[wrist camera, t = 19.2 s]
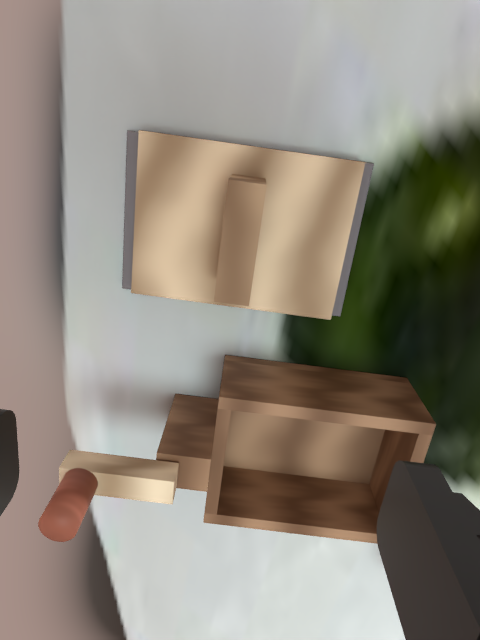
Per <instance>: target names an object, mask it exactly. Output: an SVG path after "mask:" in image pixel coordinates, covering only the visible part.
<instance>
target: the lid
mask: <svg viewBox="0 0 480 640" xmlns="http://www.w3.org/2000/svg"><path fill="white" fill-rule="evenodd" d="M364 167H365V162H361V161H354V160H347V159H339V158H332V157H325V156H318V155H311V154H304V153H297V152H290V151H283V150H276V149H269V148H262V147H255V146H248V145H241V144H234V143H227V142H220V141H212V140H205V139H198V138H191V137H184V136H177V135H170V134H163V133H156V132H149V131H141V130H139V135H138V156H137V178H136V199H135V221H134V242H133V264H132V285H131V293H135V294H143V295H150V296H158V297H165V298H172V299H180V300H187V301H195V302H202V303H209V304H217V305H224V306H232V307H239V308H246V309H254V310H261V311H269V312H276V313H284V314H291V315H298V316H306V317H313V318H321V319H328V320H331V316H332V312H333V307H334V303H335V298H336V294H337V289H338V285H339V280H340V276H341V271H342V266H343V262H344V257H345V253H346V248H347V244H348V239H349V235H350V230H351V226H352V221H353V217H354V212H355V208H356V203H357V199H358V194H359V190H360V185H361V180H362V176H363V171H364Z"/></svg>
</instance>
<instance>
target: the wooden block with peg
mask: <svg viewBox="0 0 480 640" xmlns="http://www.w3.org/2000/svg"><path fill="white" fill-rule="evenodd" d="M178 467H179V463H174V462H166V461H158V460H150V459H142V458H134V457H126V456H117V455H109V454H101V453H93V452H85V451H77V450H69V452H68V454H67V455H66V457H65V459H64V460H63V462H62V464H61V466H60V467H59V486H58V488H57V490H56V491H55V493H54V495H53V497H52V498H51V500H50V502H49V504H48V505H47V507H46V509H45V511H44V512H43V514H42V516H41V518H40V520H39V523H38V526H39V529H40V531H41V533H42V534H43V535H44V536H46V537H47V538H49V539H51V540H53V541H59V542H64V541H68V540H70V539H72V538H74V537H75V535H76V533H77V531H78V529H79V526H80V524H81V522H82V520H83V518H84V516H85V513H86V511H87V509H88V507H89V505H90V502H91V500H92V498H93V496H94V495H99V496H108V497H116V498H124V499H132V500H140V501H149V502H157V503H165V504H173V499H174V495H175V491H176V486H177V478H178Z"/></svg>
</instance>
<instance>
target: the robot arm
mask: <svg viewBox="0 0 480 640" xmlns="http://www.w3.org/2000/svg"><path fill="white" fill-rule="evenodd" d="M18 478H19V458H18V442H17V427H16V417H15V414H14V413H13V411H11V410H2V409H0V516H1V514H2V513H3V511H4V510H5V508H6V507H7V505H8V504H9V502H10V501H11V499H12V497H13V495H14V492H15V490H16V487H17V483H18ZM377 543H378V548H379V551H380V555H381V558H382V561H383V565H384V568H385V571H386V575H387V578H388V582H389V585H390V588H391V592H392V595H393V598H394V602H395V605H396V608H397V612H398V615H399V618H400V622H401V625H402V628H403V632H404V635H405V639H406V640H480V510H479V509H478V508H477V507H475V506H474V505H473V504H472V503H471V502H470V501H469V500H468V499H467V498H466V497H465V496H464V495H463V494H462V493H454V492H452V490H451V489H450V487H449V485H448V483H447V481H446V480H445V478H444V476H443V474H442V472H441V471H440V469H439V468H438V467H437V466H436V465H433V464H425V463H417V462H409V461H401V460H399V461H397V462H396V463H395V465H394V467H393V469H392V473H391V476H390V479H389V482H388V486H387V489H386V492H385V495H384V499H383V502H382V505H381V508H380V512H379V515H378V520H377Z"/></svg>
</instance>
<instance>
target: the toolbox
mask: <svg viewBox="0 0 480 640" xmlns="http://www.w3.org/2000/svg"><path fill="white" fill-rule="evenodd" d="M435 426H436V423H435V422H434V420H433V418H432V417H431V415H430V414H429V412H428V411H427V409H426V407H425V406H424V404H423V403H422V401H421V399H420V398H419V396H418V395H417V393H416V392H415V390H414V388H413V387H412V385H411V384H410V382H409V381H408V379H407V378H404V377H396V376H388V375H380V374H372V373H365V372H357V371H349V370H341V369H333V368H325V367H317V366H309V365H302V364H294V363H286V362H278V361H270V360H262V359H254V358H247V357H239V356H231V355H225V359H224V366H223V373H222V380H221V387H220V394H219V399H213V398H205V397H197V396H189V395H181V394H175V397H174V400H173V403H172V406H171V410H170V413H169V416H168V419H167V422H166V425H165V429H164V432H163V435H162V438H161V441H160V445H159V448H158V451H157V458H156V460H158V461H166V462H174V463H179V467H178V478H177V486H176V488H181V489H189V490H197V491H206V492H207V498H206V506H205V514H204V523H212V524H220V525H229V526H237V527H245V528H253V529H262V530H270V531H278V532H286V533H295V534H303V535H311V536H319V537H328V538H336V539H344V540H352V541H361V542H369V543H377V520H378V515H379V512H380V508H381V505H382V502H383V499H384V495H385V492H386V489H387V486H388V482H389V479H390V476H391V473H392V469H393V467H394V465H395V463H396V462H397V461H399V460H401V461H409V462H417V463H423V462H424V459H425V456H426V453H427V450H428V447H429V444H430V441H431V438H432V435H433V432H434V429H435ZM208 481H209V482H208ZM207 489H208V490H207ZM377 544H378V543H377Z"/></svg>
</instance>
